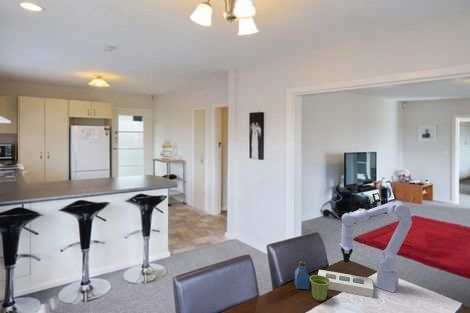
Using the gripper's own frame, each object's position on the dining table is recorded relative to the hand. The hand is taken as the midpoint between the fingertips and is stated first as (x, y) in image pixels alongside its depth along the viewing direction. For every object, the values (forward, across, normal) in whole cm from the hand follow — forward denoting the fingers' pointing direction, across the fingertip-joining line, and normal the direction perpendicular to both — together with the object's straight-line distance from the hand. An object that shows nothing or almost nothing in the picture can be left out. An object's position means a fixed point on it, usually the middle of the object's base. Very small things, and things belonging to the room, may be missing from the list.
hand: (346, 262), depth 160 cm
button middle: (+10, +7, -1) cm, 12 cm away
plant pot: (+10, +23, -12) cm, 28 cm away
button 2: (+10, +7, +6) cm, 13 cm away
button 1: (+10, +7, -7) cm, 14 cm away
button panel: (+10, +7, -1) cm, 12 cm away
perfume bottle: (+10, +15, -21) cm, 27 cm away
